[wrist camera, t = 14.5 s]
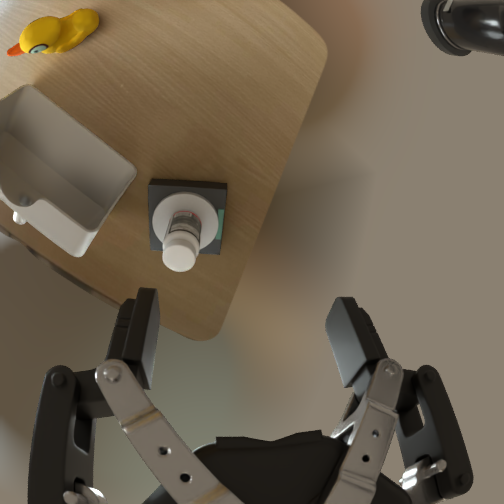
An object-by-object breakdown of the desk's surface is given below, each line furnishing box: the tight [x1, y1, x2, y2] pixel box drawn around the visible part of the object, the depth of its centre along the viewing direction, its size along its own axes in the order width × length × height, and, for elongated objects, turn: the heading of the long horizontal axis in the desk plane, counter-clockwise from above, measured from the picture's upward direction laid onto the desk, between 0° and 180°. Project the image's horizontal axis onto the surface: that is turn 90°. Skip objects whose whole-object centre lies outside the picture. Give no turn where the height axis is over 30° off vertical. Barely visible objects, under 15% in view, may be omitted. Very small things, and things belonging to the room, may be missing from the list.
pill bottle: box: [163, 210, 202, 272], centre depth 36 cm, size 5×5×8 cm
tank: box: [0, 84, 137, 257], centre depth 29 cm, size 25×16×12 cm, turn 44°
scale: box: [148, 179, 227, 255], centre depth 41 cm, size 11×11×3 cm
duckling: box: [7, 9, 99, 56], centre depth 19 cm, size 11×5×10 cm, turn 97°
